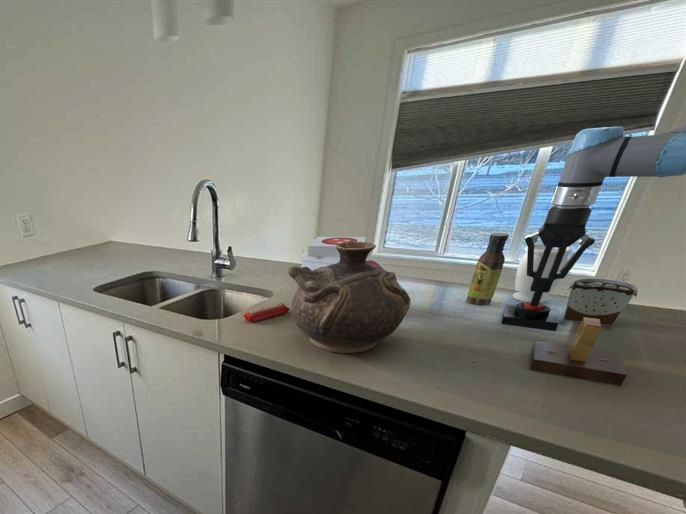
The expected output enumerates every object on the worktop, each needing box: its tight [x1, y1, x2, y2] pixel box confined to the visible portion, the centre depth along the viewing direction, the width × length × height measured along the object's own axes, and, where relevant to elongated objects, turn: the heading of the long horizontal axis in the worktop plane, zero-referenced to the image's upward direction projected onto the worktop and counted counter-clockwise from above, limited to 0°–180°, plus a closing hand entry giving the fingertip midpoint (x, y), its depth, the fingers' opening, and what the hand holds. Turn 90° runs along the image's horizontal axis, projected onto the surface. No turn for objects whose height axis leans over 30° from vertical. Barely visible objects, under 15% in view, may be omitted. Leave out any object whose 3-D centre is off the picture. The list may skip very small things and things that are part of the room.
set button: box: [523, 302, 545, 310], centre depth 106 cm, size 4×4×2 cm
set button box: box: [500, 302, 559, 332], centre depth 107 cm, size 11×10×4 cm
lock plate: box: [529, 340, 628, 387], centre depth 86 cm, size 14×11×3 cm
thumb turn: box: [569, 317, 603, 362], centre depth 83 cm, size 6×2×8 cm, turn 142°
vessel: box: [287, 241, 411, 354], centre depth 101 cm, size 27×28×25 cm
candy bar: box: [242, 302, 291, 323], centre depth 125 cm, size 16×4×3 cm, turn 114°
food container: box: [562, 278, 639, 328], centre depth 103 cm, size 12×6×10 cm, turn 48°
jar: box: [512, 243, 574, 304], centre depth 117 cm, size 11×10×15 cm
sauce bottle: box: [466, 232, 509, 306], centre depth 117 cm, size 6×6×20 cm
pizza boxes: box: [301, 236, 406, 291], centre depth 129 cm, size 19×30×18 cm, turn 41°
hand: (534, 303), depth 105 cm, fingers closed
